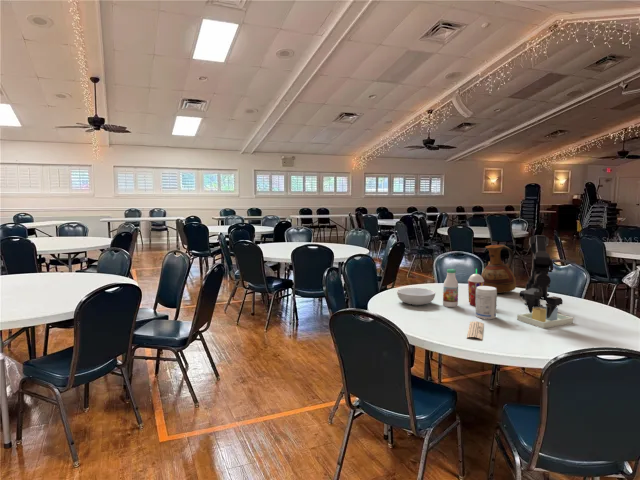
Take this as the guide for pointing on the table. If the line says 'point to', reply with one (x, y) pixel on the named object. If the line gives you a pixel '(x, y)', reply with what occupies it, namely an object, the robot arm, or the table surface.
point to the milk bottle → (450, 289)
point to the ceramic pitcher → (499, 270)
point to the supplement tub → (486, 302)
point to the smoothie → (474, 286)
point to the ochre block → (539, 314)
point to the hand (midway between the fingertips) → (539, 315)
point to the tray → (560, 320)
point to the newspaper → (475, 330)
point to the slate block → (553, 315)
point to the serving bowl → (416, 295)
